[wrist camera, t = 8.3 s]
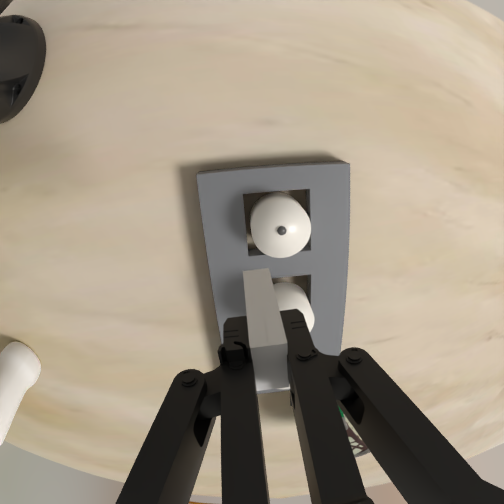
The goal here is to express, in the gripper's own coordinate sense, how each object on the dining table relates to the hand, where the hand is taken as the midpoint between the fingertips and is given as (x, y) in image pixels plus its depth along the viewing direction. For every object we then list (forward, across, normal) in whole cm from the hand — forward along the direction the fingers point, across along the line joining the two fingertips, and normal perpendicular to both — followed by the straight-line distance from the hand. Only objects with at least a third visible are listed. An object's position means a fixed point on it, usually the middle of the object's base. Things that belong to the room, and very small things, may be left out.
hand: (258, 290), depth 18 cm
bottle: (+18, -42, -21) cm, 50 cm away
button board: (+17, +3, -12) cm, 21 cm away
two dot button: (+15, +3, -12) cm, 19 cm away
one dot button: (+17, +3, -2) cm, 18 cm away
